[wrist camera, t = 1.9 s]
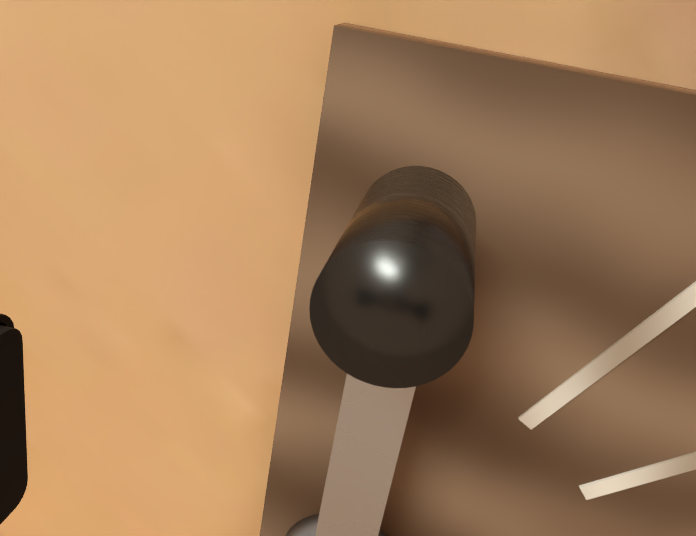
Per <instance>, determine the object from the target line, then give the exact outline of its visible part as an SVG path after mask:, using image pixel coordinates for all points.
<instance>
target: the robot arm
mask: <svg viewBox="0 0 696 536" xmlns="http://www.w3.org/2000/svg"><path fill="white" fill-rule="evenodd" d="M27 480H28V475H27V448H26V421H25V395H24V368H23V342H22V335H21V333H20V331H19V330H17V329H15V328H14V325H13V322H12V320H11V319H10V318H9V317H8V316H6V315H3V314H0V524H1V523H2V522H3V521H4V520H5V519H6V518H7V517H8V516H9V514H10V513H11V512H12V511H13V510H14V509H15V508H16V507H17V505H18V504H19V503H20V501H21V499H22V497H23V495H24V493H25V490H26V487H27Z"/></svg>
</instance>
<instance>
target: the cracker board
mask: <svg viewBox="0 0 696 536" xmlns="http://www.w3.org/2000/svg"><path fill="white" fill-rule="evenodd" d="M406 166H425V167H431V168H434V169H437V170H440V171H442V172H444V173H446V174H448V175H449V176H451V177H452V178H454V179H455V180H456V181H457V182H458V183H459V184H460V185H461V186H462V187H463V188H464V189H465V191H466V192H467V193H468V195H469V197H470V199H471V201H472V203H473V206H474V209H475V213H476V257H475V295H474V326H473V332H472V337H471V340H470V343H469V346H468V348H467V350H466V351H465V353H464V355H463V356H462V358H461V359H460V360H459V362H458V363H457V364H456V365H455V366H454V367H453V368H452V369H451V370H450V371H448V372H447V373H446V374H444V375H443V376H441V377H439V378H437V379H436V380H434V381H431V382H429V383H426V384H423V385H419V386H416V388H415V392H414V396H413V400H412V404H411V408H410V412H409V416H408V420H407V424H406V428H405V431H404V435H403V439H402V443H401V447H400V451H399V455H398V459H397V463H396V467H395V471H394V475H393V479H392V483H391V487H390V491H389V495H388V498H387V502H386V506H385V510H384V514H383V518H382V522H381V526H380V530H379V534H378V536H696V90H691V89H686V88H681V87H676V86H670V85H665V84H660V83H655V82H650V81H644V80H639V79H634V78H629V77H624V76H618V75H613V74H608V73H603V72H597V71H592V70H587V69H582V68H577V67H571V66H566V65H561V64H556V63H551V62H545V61H540V60H535V59H530V58H525V57H519V56H514V55H509V54H504V53H499V52H493V51H488V50H483V49H478V48H473V47H467V46H462V45H457V44H452V43H446V42H441V41H436V40H431V39H426V38H420V37H415V36H410V35H405V34H400V33H394V32H389V31H384V30H379V29H374V28H368V27H363V26H358V25H353V24H348V23H342V24H338V25H334V30H333V37H332V44H331V50H330V57H329V64H328V71H327V78H326V85H325V92H324V98H323V105H322V112H321V119H320V126H319V133H318V140H317V146H316V153H315V160H314V167H313V174H312V181H311V188H310V194H309V201H308V208H307V215H306V222H305V229H304V236H303V242H302V249H301V256H300V263H299V270H298V277H297V284H296V290H295V297H294V304H293V311H292V318H291V325H290V332H289V338H288V345H287V352H286V359H285V366H284V373H283V380H282V386H281V393H280V400H279V407H278V414H277V421H276V428H275V434H274V441H273V448H272V455H271V462H270V469H269V476H268V482H267V489H266V496H265V503H264V510H263V517H262V524H261V530H260V536H315V533H316V528H317V523H318V518H319V513H320V508H321V503H322V497H323V492H324V487H325V482H326V477H327V472H328V467H329V462H330V457H331V452H332V446H333V441H334V436H335V431H336V426H337V421H338V416H339V411H340V406H341V401H342V396H343V390H344V385H345V380H346V375H347V373H346V372H344V371H343V370H341V369H340V368H339V367H338V366H336V365H335V364H334V363H333V362H332V361H331V360H330V359H329V358H328V356H327V355H326V354H325V353H324V351H323V350H322V348H321V347H320V345H319V343H318V341H317V339H316V337H315V335H314V332H313V329H312V326H311V321H310V312H309V306H310V297H311V293H312V289H313V287H314V284H315V282H316V280H317V278H318V276H319V275H320V273H321V271H322V269H323V267H324V266H325V264H326V262H327V260H328V259H329V257H330V255H331V253H332V252H333V250H334V248H335V246H336V245H337V243H338V241H339V239H340V238H341V236H342V234H343V232H344V230H345V229H346V227H347V225H348V223H349V222H350V220H351V218H352V216H353V215H354V213H355V211H356V209H357V208H358V206H359V204H360V202H361V201H362V199H363V197H364V195H365V194H366V192H367V190H368V189H369V188H370V186H371V185H372V184H373V183H374V182H375V181H376V180H377V179H379V178H380V177H381V176H383V175H384V174H386V173H388V172H390V171H392V170H395V169H397V168H401V167H406Z"/></svg>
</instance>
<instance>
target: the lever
mask: <svg viewBox="0 0 696 536" xmlns="http://www.w3.org/2000/svg"><path fill="white" fill-rule="evenodd" d="M475 257H476V213H475V209H474V206H473V203H472V201H471V199H470V197H469V195H468V193H467V192H466V191H465V189H464V188H463V187H462V186H461V185H460V184H459V183H458V182H457V181H456V180H455V179H454V178H452V177H451V176H449V175H448V174H446V173H444V172H442V171H440V170H437V169H434V168H431V167H425V166H406V167H401V168H397V169H395V170H392V171H390V172H388V173H386V174H384V175H383V176H381V177H380V178H379V179H377V180H376V181H375V182H374V183H373V184H372V185H371V186H370V188H369V189H368V190H367V192H366V194H365V195H364V197H363V199H362V201H361V202H360V204H359V206H358V208H357V209H356V211H355V213H354V215H353V216H352V218H351V220H350V222H349V223H348V225H347V227H346V229H345V230H344V232H343V234H342V236H341V238H340V239H339V241H338V243H337V245H336V246H335V248H334V250H333V252H332V253H331V255H330V257H329V259H328V260H327V262H326V264H325V266H324V267H323V269H322V271H321V273H320V275H319V276H318V278H317V280H316V282H315V284H314V287H313V289H312V293H311V297H310V306H309V312H310V321H311V326H312V329H313V332H314V335H315V337H316V339H317V341H318V343H319V345H320V347H321V348H322V350H323V351H324V353H325V354H326V355H327V356H328V358H329V359H330V360H331V361H332V362H333V363H334V364H335V365H336V366H338V367H339V368H340V369H341V370H343V371H344V372H346V373H347V375H346V380H345V385H344V390H343V396H342V401H341V406H340V411H339V416H338V421H337V426H336V431H335V436H334V441H333V446H332V452H331V457H330V462H329V467H328V472H327V477H326V482H325V487H324V492H323V497H322V503H321V508H320V513H319V518H318V523H317V528H316V533H315V536H378V534H379V530H380V526H381V522H382V518H383V514H384V510H385V506H386V502H387V498H388V495H389V491H390V487H391V483H392V479H393V475H394V471H395V467H396V463H397V459H398V455H399V451H400V447H401V443H402V439H403V435H404V431H405V428H406V424H407V420H408V416H409V412H410V408H411V404H412V400H413V396H414V392H415V388H416V386H419V385H423V384H426V383H429V382H431V381H434V380H436V379H437V378H439V377H441V376H443V375H444V374H446V373H447V372H448V371H450V370H451V369H452V368H453V367H454V366H455V365H456V364H457V363H458V362H459V360H460V359H461V358H462V356H463V355H464V353H465V351H466V350H467V348H468V346H469V343H470V340H471V337H472V332H473V326H474V295H475Z"/></svg>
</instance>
